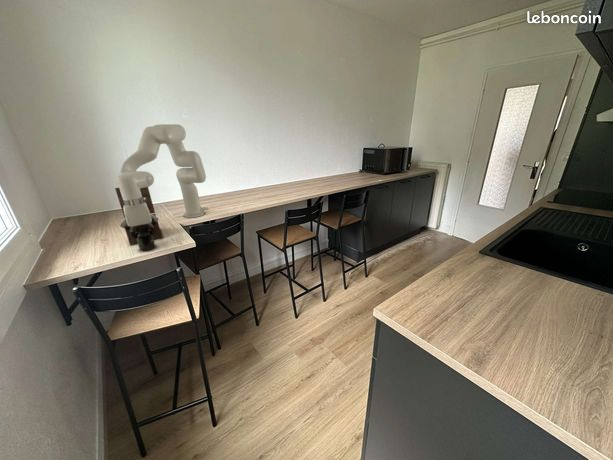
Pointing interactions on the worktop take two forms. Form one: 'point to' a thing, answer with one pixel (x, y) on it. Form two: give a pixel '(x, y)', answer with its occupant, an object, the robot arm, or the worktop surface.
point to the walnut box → (157, 233)
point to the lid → (144, 194)
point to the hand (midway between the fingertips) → (144, 235)
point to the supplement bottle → (144, 238)
